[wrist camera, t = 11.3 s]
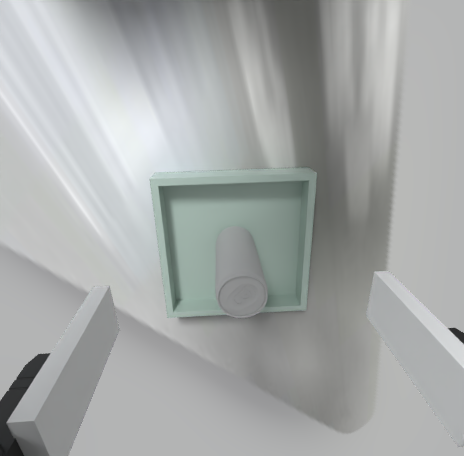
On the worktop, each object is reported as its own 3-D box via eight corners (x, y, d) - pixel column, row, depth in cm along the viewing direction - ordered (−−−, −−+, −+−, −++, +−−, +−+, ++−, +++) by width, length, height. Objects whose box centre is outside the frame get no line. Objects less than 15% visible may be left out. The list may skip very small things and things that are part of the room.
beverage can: (260, 243, 38) (280, 299, 27) (232, 265, 39) (238, 328, 28) (236, 216, 36) (246, 264, 25) (207, 240, 37) (204, 296, 26)
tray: (155, 172, 35) (149, 178, 32) (308, 167, 36) (317, 172, 32) (171, 302, 41) (167, 317, 38) (299, 295, 42) (306, 310, 39)
